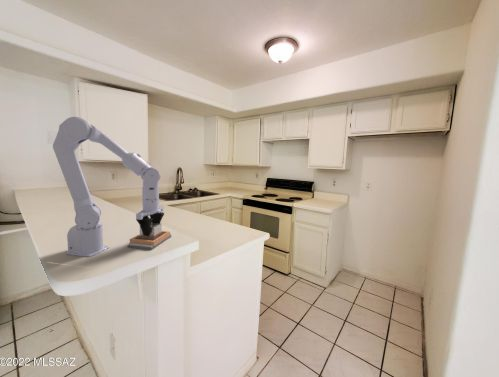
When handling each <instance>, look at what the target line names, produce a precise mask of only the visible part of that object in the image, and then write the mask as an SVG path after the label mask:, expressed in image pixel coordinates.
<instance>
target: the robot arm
mask: <svg viewBox="0 0 499 377" xmlns="http://www.w3.org/2000/svg"><path fill="white" fill-rule="evenodd" d="M87 140H89V141H90V142H93V143H97V144H100V145H102V146H103V147H104V148H106V149H108V150H109V151H110V152H112V153H113V154H114V155H116V156H117V157H119V158H120V159H121V160H122V162H121V163H122V165H123V166H124V167H125V168H127V169H128V170H130V171H131V172H133V173H134V174H135V175H136V176H140V178H141V180H142V187H141V189H142V192H141V193H142V194H141V195H142V200H141V202H142V209H141V211H138V213H136V214H135V219H136V220H135V221H136V222H137V223H138V224H139V228H140V227H141V229H142V232H143V235H145V236H149V234H150V226H151V223H160V224H161V221H162V219H163V217H164V216H165V212H164V206H162V205H160V195H159V194H160V193H159V192H160V191H159V190H160V188H159V185H160V184H159V181H160V179H161V175H160V172H159V170H157V169H156V168H154V167H153V165H152V163H148V162H147V161H146V160H144V159H143V158H141V157H142V155H141V154H139V153H135V152H128V151H127V150H126V149H125V148H123V147H122V146H121V145H120V144H119V143H117V142H116V141H115V140H114V139H112V138H111V137H110V136H109V135H108V134H106V133H105V132H104V131H103V130H101V129H99V128H98V127H96V126H95V125H92V124H91V123H90V124H89V123H88V122H87V120H85V119H83V118H82V117H79V116H70V117H67V118H66V119H65V120H64V121H63V122H61V123H60V124H59V126H58V131H57V133H56V136H55V139H54V141H53V143H52V149H53V151H54V155H55V157H56V159H57V163H58V165H59V167H60V169H61V173H62V175H63V178H64V180H65V183H66V186H67V188H68V191H69V193H70V196H71V198H72V201H73V208H74V212H75V217H74V223H75V224H76V225H73V226H71V227H70V229H69V230H68V231H67V233H66V234H67V235H66V238H67V251H66V252H65V255H70V256H71V255H72V256H80V257H86V258H87V257H89V258H90V257H91V258H92V257H94V256H95V255H97V254H100V253H101V252H104V251H105V250H107V249H110V246H109V245H104V237H103V236H104V235H103V234H104V233H103V222H101V221H100V218H101V214H102V211H101V208H100V207H99V206H98V205H97V204H96V203H95V201H94V199H93V197H92V195H91V193H90V190H89V187H88V185H87V181H86V179H85V176H84V173H83V170H82V167H81V165H80V161H79V159H78V156H77V153H76V150H77V149H78V148H79V146H80V145H81V144H82V143H84V142H85V141H87Z"/></svg>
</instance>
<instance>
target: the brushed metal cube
mask: <svg viewBox="0 0 499 377" xmlns="http://www.w3.org/2000/svg"><path fill="white" fill-rule="evenodd" d="M162 229H163V228H162V223H161V222H160V223H152V222H151V226H150V234H149V236H145V235H143V232H142V229H141V227H140V226H139V234H140V239H141V240H151V241H153V240H155V239H157V238H158V237H160V236H161V231H163V230H162Z"/></svg>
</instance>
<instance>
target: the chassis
mask: <svg viewBox="0 0 499 377" xmlns="http://www.w3.org/2000/svg"><path fill="white" fill-rule="evenodd" d="M170 238H172V233H171V231H166V230H161V236H160V237H158V238H157V239H155V240H153V241H151V240H141V239H140V233H139V234H137V235H135V236H133V237H131V238H129V243H127V248H133V249H141V250H142V249H143V250H150V251H151V250H152V251H153V250H154V249H155V248H156V247H159V246H160V245H161V244H163V243H164V242H166V241H167V240H169V239H170Z"/></svg>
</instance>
